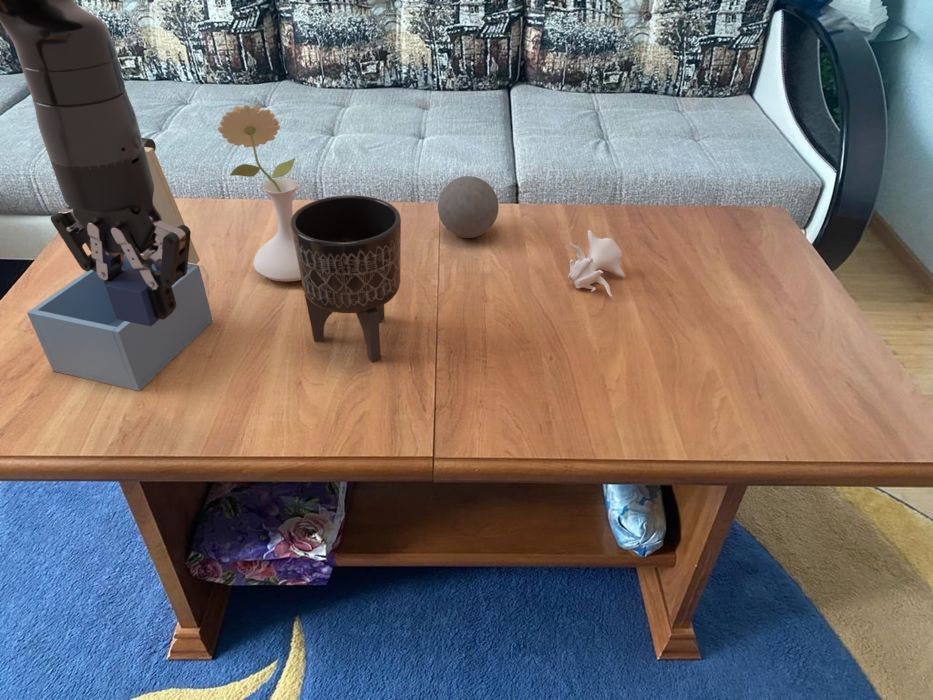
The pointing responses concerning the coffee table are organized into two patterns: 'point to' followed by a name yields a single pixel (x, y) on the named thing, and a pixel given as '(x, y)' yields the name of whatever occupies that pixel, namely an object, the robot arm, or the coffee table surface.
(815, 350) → the coffee table surface
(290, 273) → the flower in vase
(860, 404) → the coffee table surface
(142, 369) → the light blue open box
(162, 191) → the lid
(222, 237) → the coffee table surface
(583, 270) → the figurine
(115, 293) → the block
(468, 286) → the coffee table surface
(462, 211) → the decorative ball
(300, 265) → the planter
